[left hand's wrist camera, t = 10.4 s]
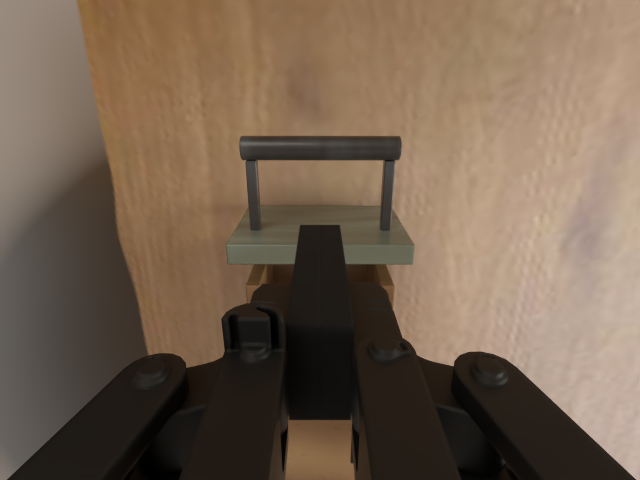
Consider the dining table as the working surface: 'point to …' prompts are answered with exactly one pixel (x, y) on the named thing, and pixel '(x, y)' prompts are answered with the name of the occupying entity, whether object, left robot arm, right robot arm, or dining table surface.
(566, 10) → the dining table surface
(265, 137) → the drawer
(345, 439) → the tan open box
